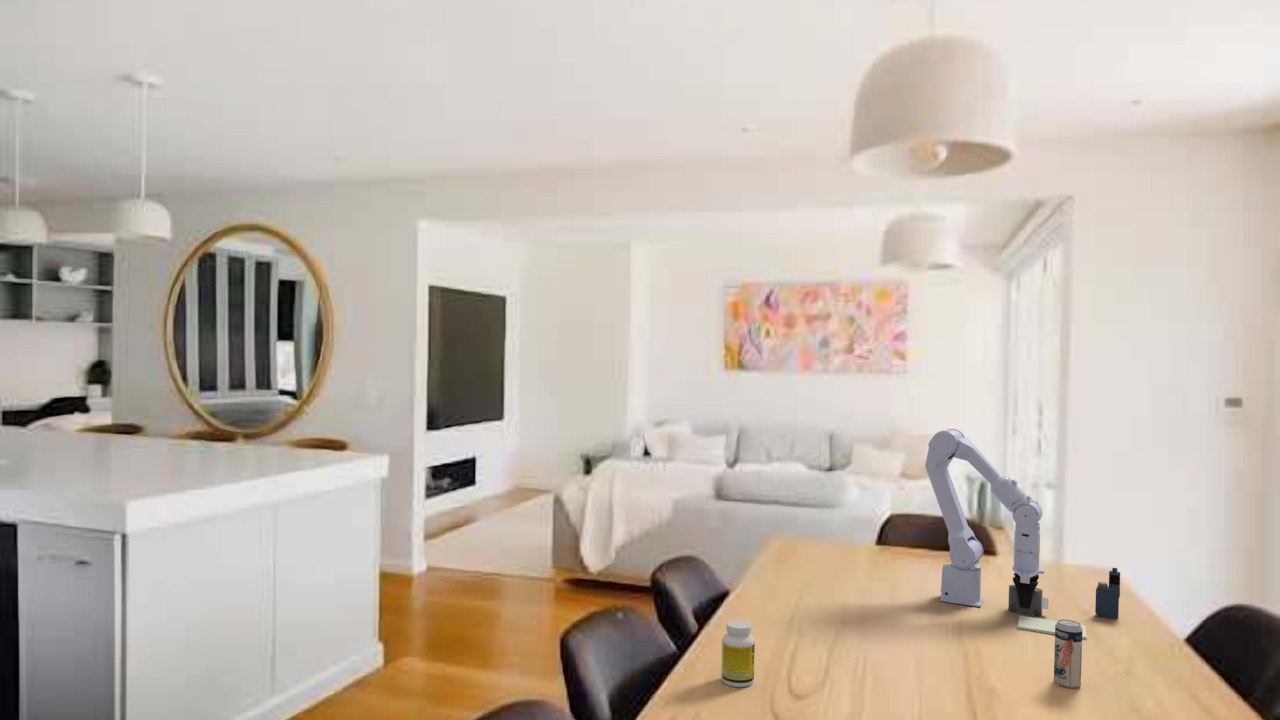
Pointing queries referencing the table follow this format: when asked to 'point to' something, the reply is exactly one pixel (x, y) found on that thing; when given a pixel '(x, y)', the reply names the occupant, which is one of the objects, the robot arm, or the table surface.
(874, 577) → the table surface
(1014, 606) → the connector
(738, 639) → the pill bottle
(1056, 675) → the beer can
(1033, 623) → the board
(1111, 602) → the vaping device
